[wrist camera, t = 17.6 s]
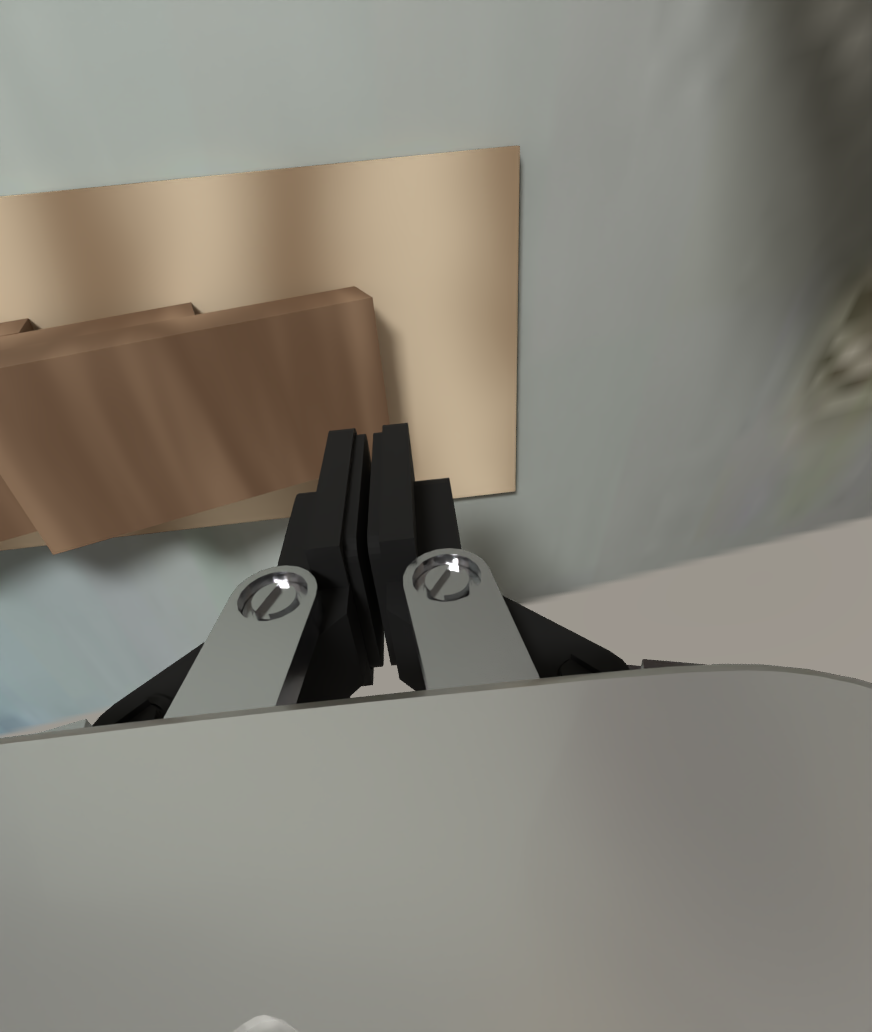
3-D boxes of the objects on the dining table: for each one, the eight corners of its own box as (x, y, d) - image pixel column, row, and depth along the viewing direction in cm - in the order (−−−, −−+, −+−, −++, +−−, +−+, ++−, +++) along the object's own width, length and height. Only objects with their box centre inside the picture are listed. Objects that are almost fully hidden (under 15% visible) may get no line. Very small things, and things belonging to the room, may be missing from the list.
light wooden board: (516, 145, 14) (519, 146, 14) (512, 485, 21) (515, 491, 21) (-482, 244, 14) (-504, 247, 13) (-163, 563, 20) (-172, 570, 20)
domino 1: (195, 314, 14) (-290, 406, 11) (248, 472, 17) (-126, 577, 14) (190, 302, 16) (-250, 381, 13) (241, 451, 19) (-106, 544, 16)
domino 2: (372, 297, 14) (-63, 379, 12) (394, 456, 17) (53, 554, 14) (354, 286, 16) (-44, 358, 13) (377, 436, 19) (59, 523, 16)
